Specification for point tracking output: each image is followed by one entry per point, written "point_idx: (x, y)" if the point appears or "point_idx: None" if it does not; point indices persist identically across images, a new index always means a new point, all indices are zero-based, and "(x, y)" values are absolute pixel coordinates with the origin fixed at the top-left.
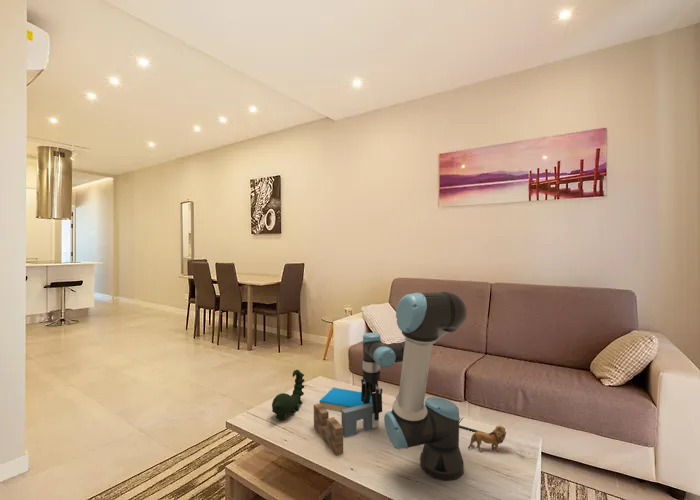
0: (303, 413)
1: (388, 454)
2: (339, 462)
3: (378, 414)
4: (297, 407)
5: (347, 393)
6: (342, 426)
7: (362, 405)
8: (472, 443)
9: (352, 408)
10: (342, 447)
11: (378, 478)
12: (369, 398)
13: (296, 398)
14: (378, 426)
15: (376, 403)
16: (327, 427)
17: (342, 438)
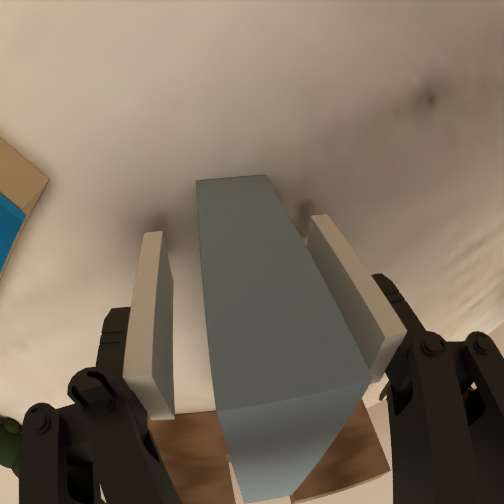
0: None
1: (479, 252)
2: (379, 389)
3: (416, 324)
4: (14, 432)
5: None
6: (384, 473)
7: (253, 475)
8: None
9: (261, 491)
10: (362, 404)
11: (490, 316)
12: (158, 490)
13: (4, 457)
14: (327, 216)
15: (484, 465)
16: None
17: (374, 434)
